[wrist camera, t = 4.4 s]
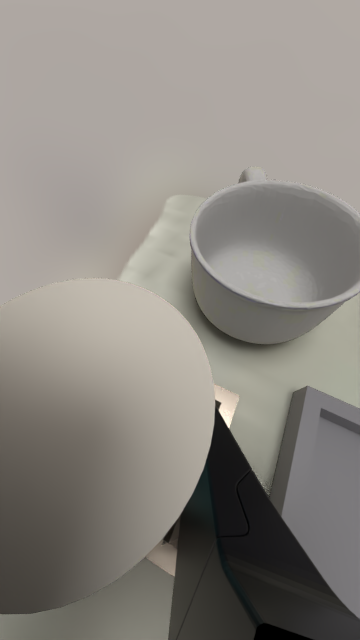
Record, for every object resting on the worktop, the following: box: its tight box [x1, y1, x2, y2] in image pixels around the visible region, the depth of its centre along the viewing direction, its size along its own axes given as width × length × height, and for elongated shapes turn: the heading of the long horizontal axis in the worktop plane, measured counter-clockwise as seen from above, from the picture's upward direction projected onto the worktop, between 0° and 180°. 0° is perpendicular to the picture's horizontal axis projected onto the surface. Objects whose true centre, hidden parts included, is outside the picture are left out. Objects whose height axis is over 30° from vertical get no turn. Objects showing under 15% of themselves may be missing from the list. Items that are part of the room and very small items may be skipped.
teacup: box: [190, 167, 360, 344], centre depth 18 cm, size 14×11×8 cm
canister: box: [0, 278, 215, 614], centre depth 9 cm, size 5×5×12 cm
